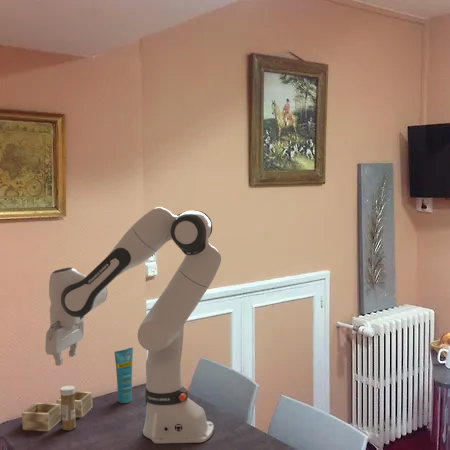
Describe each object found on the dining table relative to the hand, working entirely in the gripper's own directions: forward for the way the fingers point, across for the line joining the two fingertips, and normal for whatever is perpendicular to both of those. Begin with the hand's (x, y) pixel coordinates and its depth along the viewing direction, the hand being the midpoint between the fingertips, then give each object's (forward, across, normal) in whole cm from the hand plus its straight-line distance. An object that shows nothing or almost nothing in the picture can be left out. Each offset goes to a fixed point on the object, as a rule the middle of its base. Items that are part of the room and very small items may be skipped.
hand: (65, 360), depth 190 cm
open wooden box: (+22, +13, +4) cm, 26 cm away
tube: (+23, +25, -10) cm, 35 cm away
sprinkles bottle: (+23, 0, 0) cm, 23 cm away
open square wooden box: (+22, +1, +10) cm, 25 cm away
